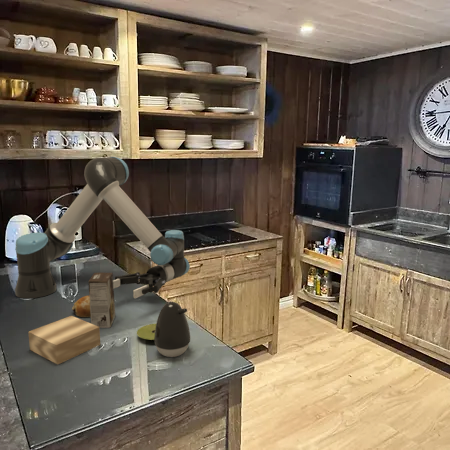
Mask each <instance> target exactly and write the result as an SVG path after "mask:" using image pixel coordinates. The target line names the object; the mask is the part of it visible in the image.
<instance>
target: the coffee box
mask: <svg viewBox="0 0 450 450" xmlns="http://www.w3.org/2000/svg"><path fill="white" fill-rule="evenodd" d="M113 280H114V274H113V272H93V274H92V276H91V277H90V278H89V280H88V281H87V282H88V293H89V297H90V312H91V317H90V323H91V324H93V325H96V326H98V327H99V328H101V329H102V328H105V329H106V328H108V329H109V328H111V327H112V325H113V323H114V320H115V318H116V306H115V305H116V304H115V290H114V289H115V288H114V287H113Z"/></svg>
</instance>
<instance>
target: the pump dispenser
mask: <svg viewBox="0 0 450 450" xmlns="http://www.w3.org/2000/svg"><path fill="white" fill-rule="evenodd" d="M187 312H188V308H185V307H184V308H182V307H181V305H180V304H179V303H177V302H176V301H168V302H166V303H164V305H163V306H162V308H161V309H160V311H159V314H158V316H157V320H156V323H155V324H156V328H155V335H154V340H153V341H154V345H155V346H156V349H157V351H158V352H159V354H160V355H162V356H164V357H168V358H176V357H179V356H181V355H183V354H184V353H185V352H186V351H187V349H188V348H189V345H190V343H191V332H190V327H189V323H188V319H187V317H186V316H187V315H186V313H187Z"/></svg>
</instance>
